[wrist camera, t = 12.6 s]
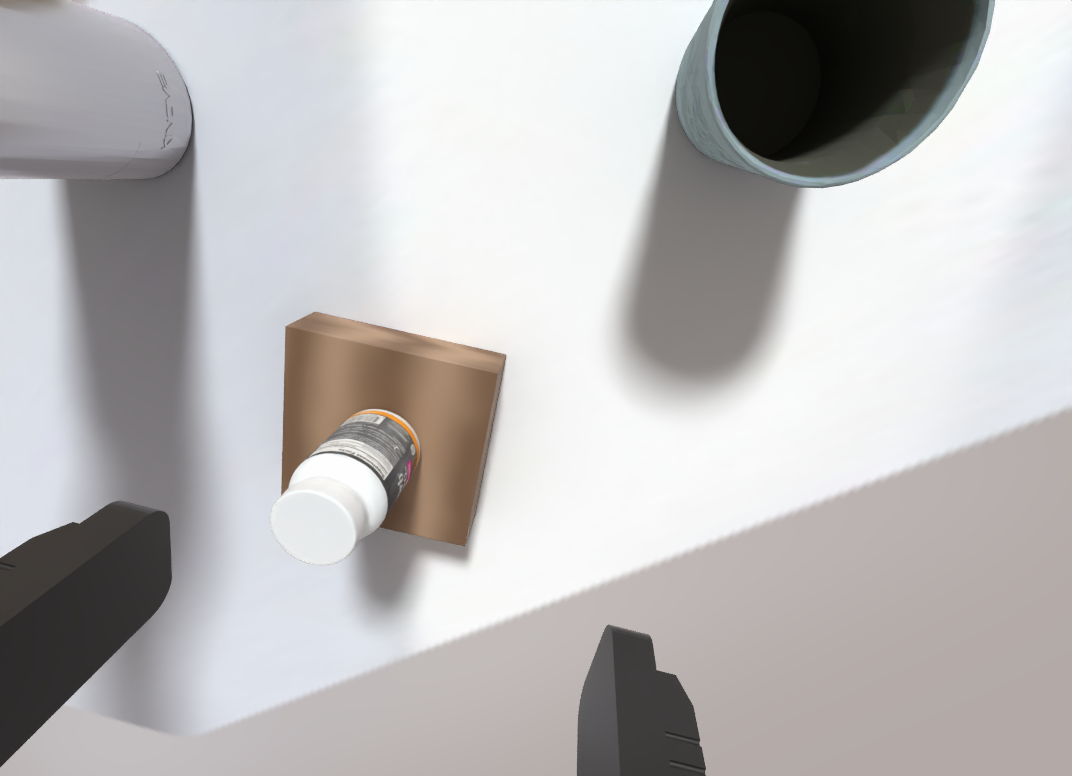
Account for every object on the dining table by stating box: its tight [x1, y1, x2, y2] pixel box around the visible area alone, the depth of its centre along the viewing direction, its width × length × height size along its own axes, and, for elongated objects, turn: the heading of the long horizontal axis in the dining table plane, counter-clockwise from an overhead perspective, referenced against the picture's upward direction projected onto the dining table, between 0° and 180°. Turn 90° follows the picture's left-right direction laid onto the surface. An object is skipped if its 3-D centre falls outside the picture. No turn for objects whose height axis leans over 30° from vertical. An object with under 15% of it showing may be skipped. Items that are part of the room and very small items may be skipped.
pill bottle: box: [270, 409, 420, 565], centre depth 32 cm, size 6×6×10 cm
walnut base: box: [281, 312, 506, 546], centre depth 38 cm, size 14×14×4 cm
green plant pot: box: [676, 0, 995, 188], centre depth 25 cm, size 10×10×12 cm
